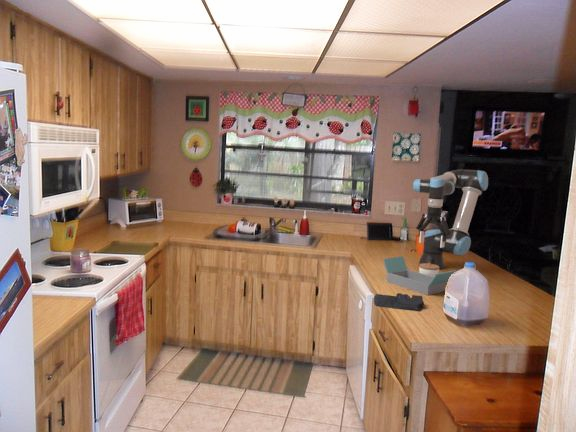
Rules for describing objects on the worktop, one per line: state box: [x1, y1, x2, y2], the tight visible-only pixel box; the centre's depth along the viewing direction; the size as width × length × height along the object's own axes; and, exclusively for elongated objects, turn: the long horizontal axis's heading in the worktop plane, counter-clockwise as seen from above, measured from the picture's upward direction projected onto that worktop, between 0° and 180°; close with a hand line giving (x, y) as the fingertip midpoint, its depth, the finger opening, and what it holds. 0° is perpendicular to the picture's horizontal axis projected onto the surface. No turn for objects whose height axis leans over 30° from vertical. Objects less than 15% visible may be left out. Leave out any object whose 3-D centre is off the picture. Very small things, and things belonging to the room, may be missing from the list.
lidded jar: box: [418, 263, 440, 277], centre depth 258 cm, size 11×11×9 cm
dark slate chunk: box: [373, 292, 425, 312], centre depth 212 cm, size 15×22×5 cm
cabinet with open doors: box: [382, 255, 457, 296], centre depth 242 cm, size 34×16×12 cm, turn 37°
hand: (431, 245), depth 256 cm, fingers open, 13 cm apart
